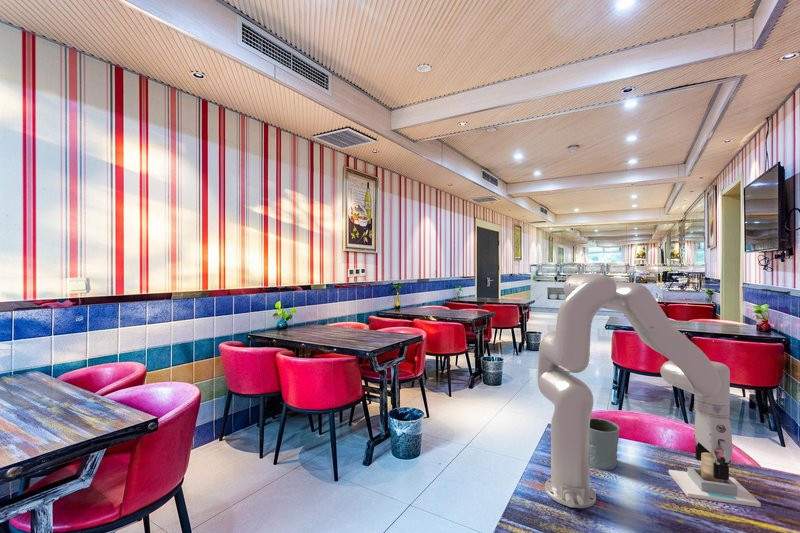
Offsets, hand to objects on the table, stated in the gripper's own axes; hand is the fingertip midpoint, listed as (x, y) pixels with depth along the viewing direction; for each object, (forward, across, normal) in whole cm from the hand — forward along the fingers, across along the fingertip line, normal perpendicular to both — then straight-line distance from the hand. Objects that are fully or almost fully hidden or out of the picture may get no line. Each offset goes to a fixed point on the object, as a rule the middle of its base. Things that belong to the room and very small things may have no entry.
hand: (711, 469), depth 104 cm
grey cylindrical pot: (+6, +7, +26) cm, 28 cm away
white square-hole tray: (+5, 0, 0) cm, 5 cm away
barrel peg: (+4, 0, 0) cm, 4 cm away
